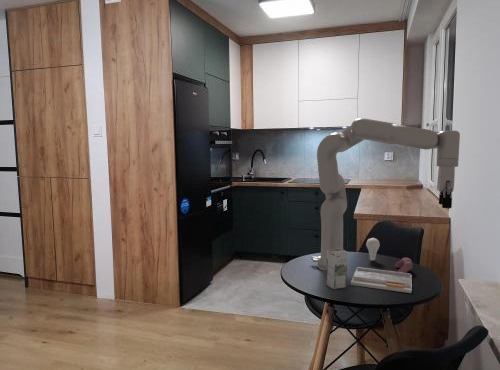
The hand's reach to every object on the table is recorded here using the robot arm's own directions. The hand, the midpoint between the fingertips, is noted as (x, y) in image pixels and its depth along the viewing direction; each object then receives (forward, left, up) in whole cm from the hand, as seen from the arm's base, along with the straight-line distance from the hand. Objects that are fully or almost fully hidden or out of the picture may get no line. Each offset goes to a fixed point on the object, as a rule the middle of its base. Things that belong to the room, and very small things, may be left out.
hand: (444, 206), depth 147 cm
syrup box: (-38, -21, -31) cm, 53 cm away
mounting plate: (-22, -8, -31) cm, 39 cm away
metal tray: (-22, -8, -30) cm, 38 cm away
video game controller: (-14, +9, -31) cm, 35 cm away
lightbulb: (-28, +19, -31) cm, 46 cm away
